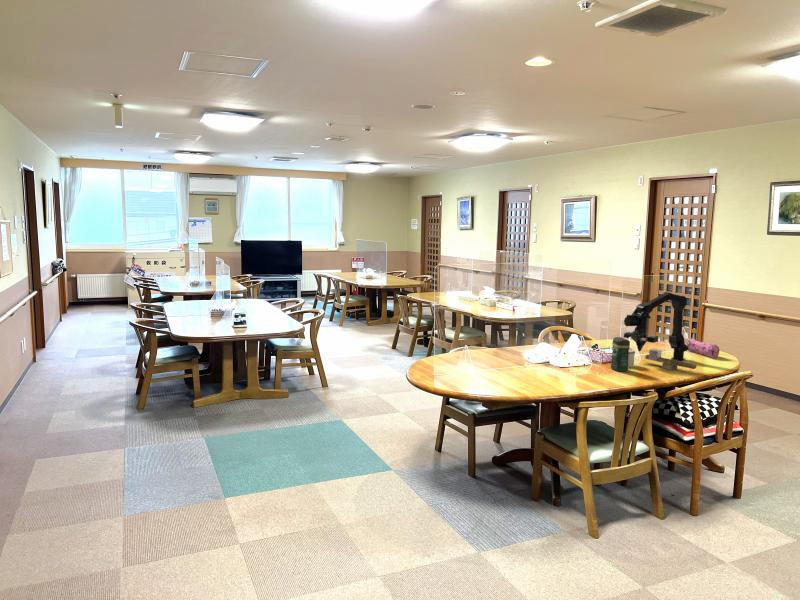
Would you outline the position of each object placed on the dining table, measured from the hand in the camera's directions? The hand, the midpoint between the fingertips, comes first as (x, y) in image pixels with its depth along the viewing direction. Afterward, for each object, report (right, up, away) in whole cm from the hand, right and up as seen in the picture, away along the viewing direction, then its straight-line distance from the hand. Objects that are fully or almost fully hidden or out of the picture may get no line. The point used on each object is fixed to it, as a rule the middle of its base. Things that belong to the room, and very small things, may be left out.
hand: (639, 351), depth 353 cm
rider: (+6, -4, -7) cm, 10 cm away
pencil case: (+48, -4, +22) cm, 53 cm away
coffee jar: (-19, -9, -17) cm, 27 cm away
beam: (+12, -9, -13) cm, 20 cm away
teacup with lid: (-12, -8, -8) cm, 17 cm away
